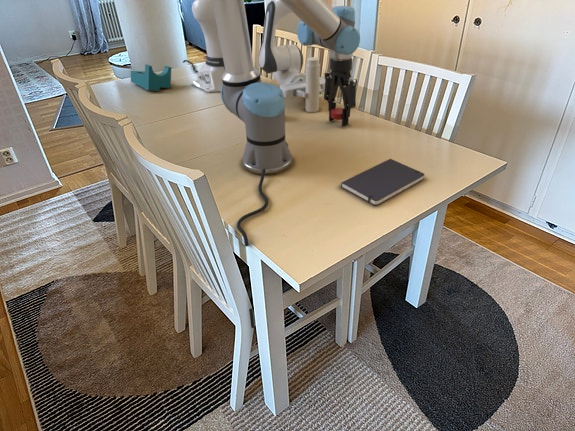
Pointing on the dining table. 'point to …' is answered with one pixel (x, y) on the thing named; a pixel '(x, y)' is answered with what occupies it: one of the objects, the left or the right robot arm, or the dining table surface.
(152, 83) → the teal notched cradle block
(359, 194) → the notebook
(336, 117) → the lid
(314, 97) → the jar
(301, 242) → the dining table surface
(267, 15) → the left robot arm
